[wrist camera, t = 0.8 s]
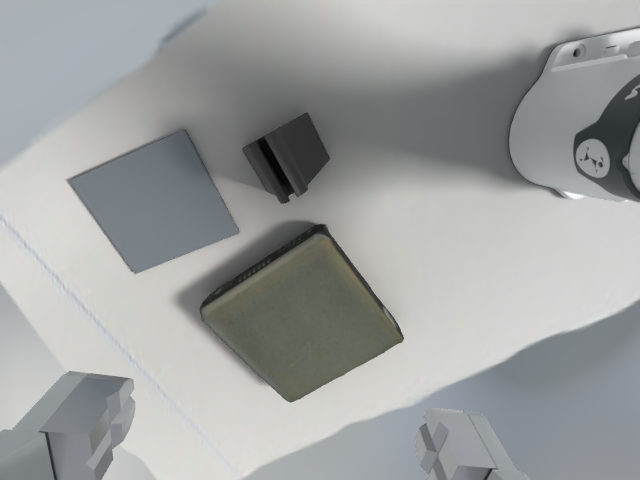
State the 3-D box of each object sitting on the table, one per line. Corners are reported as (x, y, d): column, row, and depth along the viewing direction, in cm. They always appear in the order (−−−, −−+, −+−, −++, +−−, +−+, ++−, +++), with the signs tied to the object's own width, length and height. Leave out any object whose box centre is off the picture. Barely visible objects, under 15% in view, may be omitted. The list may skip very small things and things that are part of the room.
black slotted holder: (307, 112, 37) (306, 112, 26) (329, 158, 39) (337, 177, 28) (242, 147, 38) (214, 162, 27) (267, 191, 41) (250, 221, 29)
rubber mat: (185, 129, 37) (183, 129, 37) (239, 231, 42) (238, 233, 42) (72, 179, 39) (68, 180, 39) (137, 272, 44) (135, 274, 44)
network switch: (300, 389, 54) (300, 415, 50) (192, 305, 47) (180, 327, 43) (410, 311, 49) (421, 332, 44) (306, 203, 42) (306, 214, 37)
